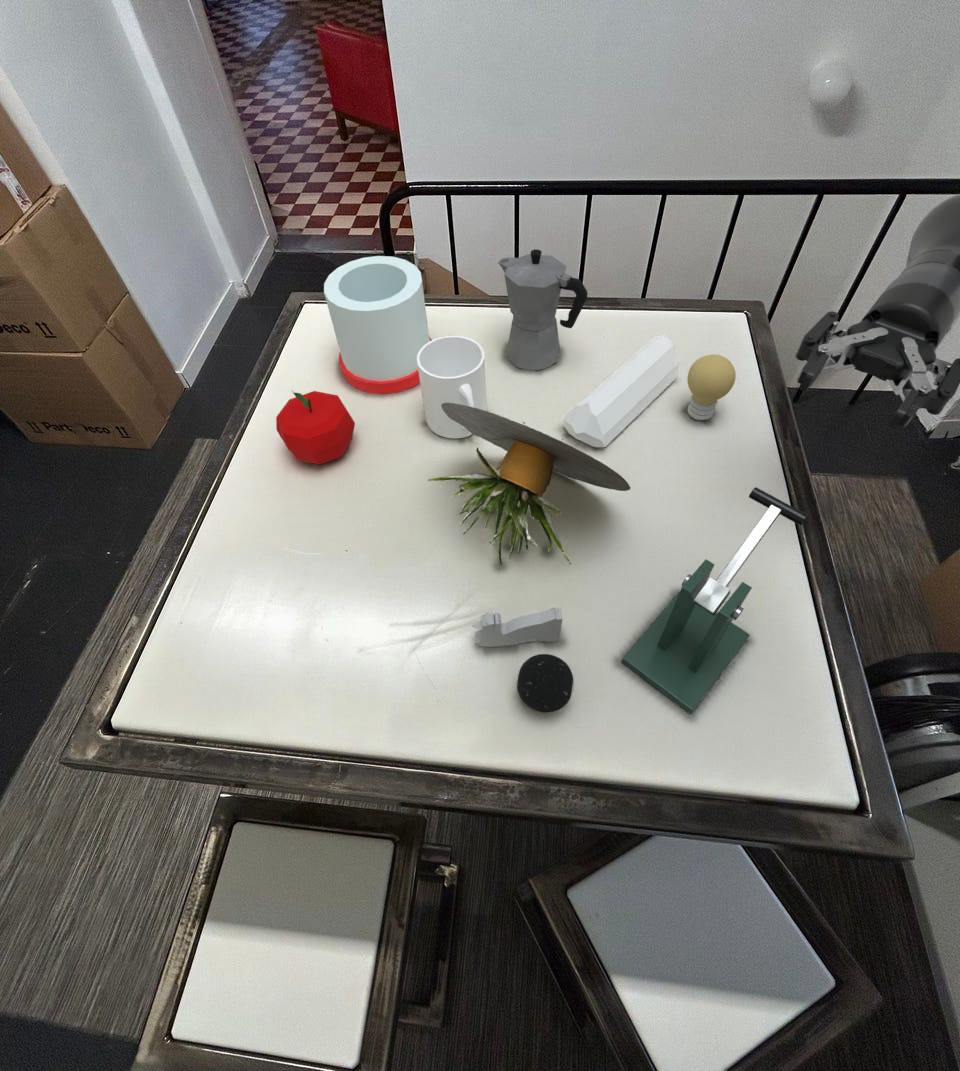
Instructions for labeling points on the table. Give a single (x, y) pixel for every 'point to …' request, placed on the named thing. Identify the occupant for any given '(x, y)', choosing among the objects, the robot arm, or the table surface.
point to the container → (378, 322)
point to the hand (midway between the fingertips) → (849, 402)
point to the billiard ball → (545, 683)
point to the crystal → (624, 393)
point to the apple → (315, 427)
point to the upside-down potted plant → (522, 474)
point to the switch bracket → (689, 643)
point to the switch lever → (745, 550)
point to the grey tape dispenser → (519, 629)
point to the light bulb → (709, 384)
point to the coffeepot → (537, 308)
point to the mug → (451, 381)
